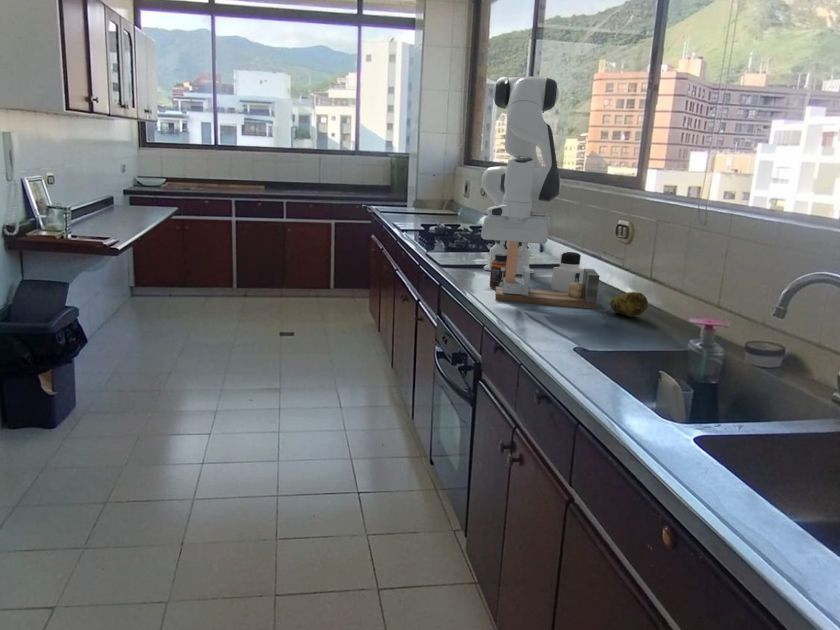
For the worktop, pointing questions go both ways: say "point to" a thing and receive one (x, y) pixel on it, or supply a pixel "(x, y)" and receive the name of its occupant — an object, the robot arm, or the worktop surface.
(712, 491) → the worktop surface
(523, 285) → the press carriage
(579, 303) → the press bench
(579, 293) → the beige rounded cylinder
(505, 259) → the supplement bottle
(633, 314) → the potato
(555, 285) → the container
